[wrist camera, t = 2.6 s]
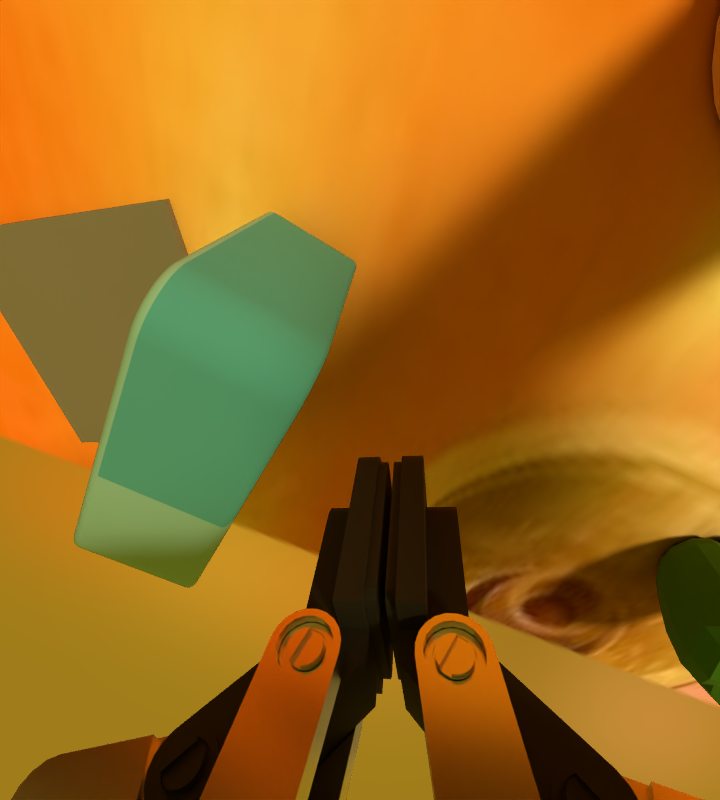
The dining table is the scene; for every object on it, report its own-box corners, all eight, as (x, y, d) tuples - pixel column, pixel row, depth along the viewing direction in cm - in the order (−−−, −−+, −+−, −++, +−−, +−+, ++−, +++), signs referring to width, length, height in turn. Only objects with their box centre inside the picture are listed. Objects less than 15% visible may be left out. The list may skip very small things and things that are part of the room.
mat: (168, 198, 20) (163, 200, 19) (249, 432, 27) (246, 436, 27) (-40, 230, 22) (-49, 232, 22) (86, 438, 29) (81, 442, 29)
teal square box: (266, 424, 26) (183, 605, 16) (199, 391, 25) (63, 562, 15) (360, 255, 20) (324, 372, 10) (276, 204, 19) (140, 274, 9)
